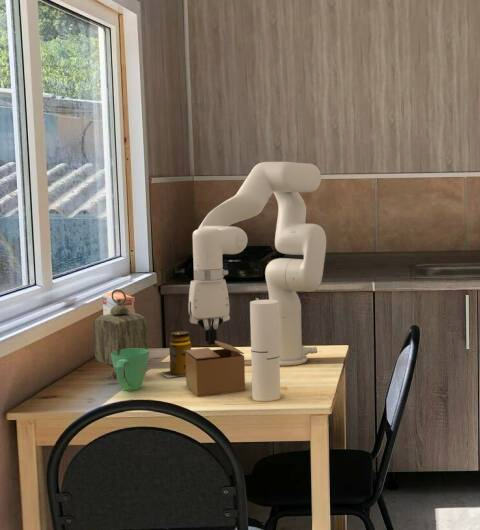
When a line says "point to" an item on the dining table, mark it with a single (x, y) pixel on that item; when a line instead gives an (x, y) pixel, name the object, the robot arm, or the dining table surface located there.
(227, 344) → the flap
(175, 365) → the condiment
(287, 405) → the dining table surface
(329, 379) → the dining table surface
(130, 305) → the cracker box
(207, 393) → the carton
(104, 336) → the tabletop clock
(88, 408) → the dining table surface
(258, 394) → the cylindrical container
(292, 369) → the dining table surface
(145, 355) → the mug
